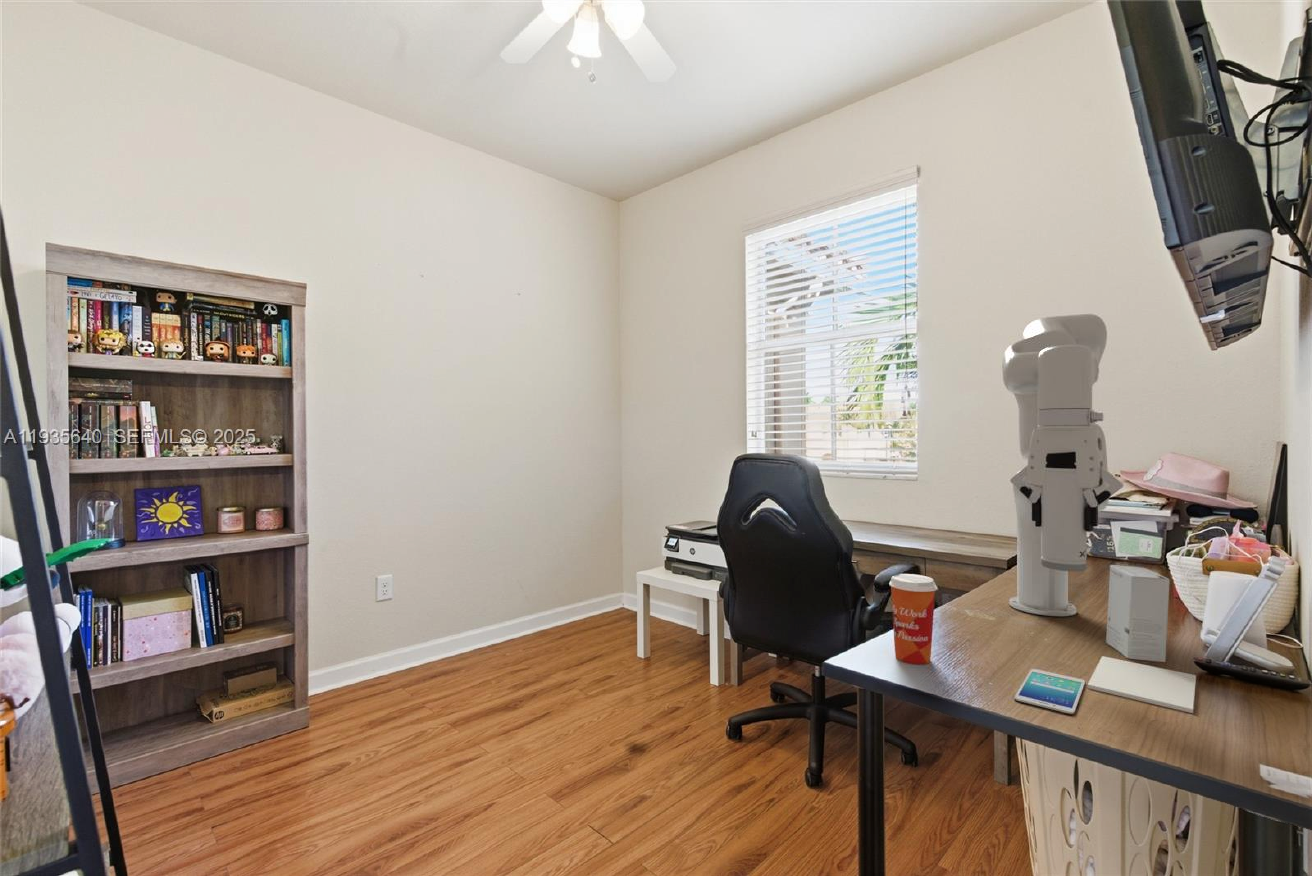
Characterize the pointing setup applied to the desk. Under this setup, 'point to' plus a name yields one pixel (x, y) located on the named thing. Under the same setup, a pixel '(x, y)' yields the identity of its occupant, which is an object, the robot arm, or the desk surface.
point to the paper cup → (913, 617)
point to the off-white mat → (1145, 683)
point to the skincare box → (1138, 613)
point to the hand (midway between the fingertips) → (1063, 527)
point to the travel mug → (1063, 515)
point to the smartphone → (1051, 691)
